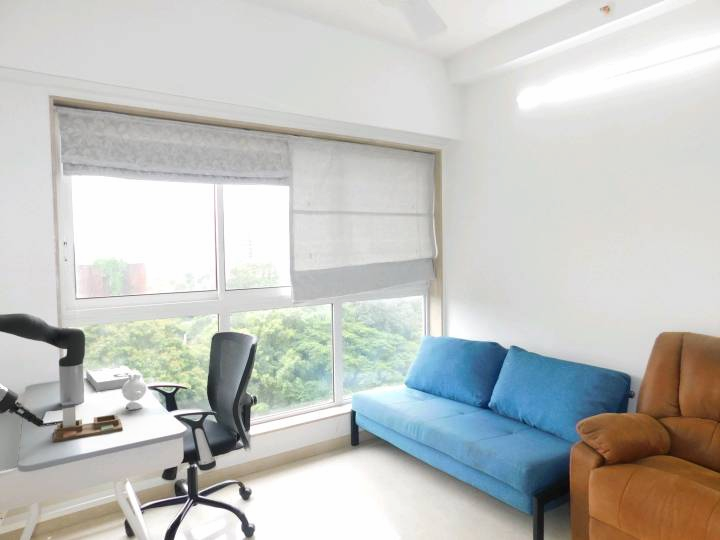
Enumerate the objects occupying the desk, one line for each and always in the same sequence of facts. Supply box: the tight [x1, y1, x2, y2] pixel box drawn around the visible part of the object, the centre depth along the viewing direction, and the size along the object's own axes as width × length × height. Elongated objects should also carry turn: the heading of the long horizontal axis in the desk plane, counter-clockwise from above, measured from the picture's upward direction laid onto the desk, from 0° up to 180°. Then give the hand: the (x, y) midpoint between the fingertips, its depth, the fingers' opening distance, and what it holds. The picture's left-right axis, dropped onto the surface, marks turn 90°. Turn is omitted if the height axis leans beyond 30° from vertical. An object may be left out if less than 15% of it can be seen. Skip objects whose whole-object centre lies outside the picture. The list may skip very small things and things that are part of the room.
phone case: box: [41, 409, 63, 426], centre depth 197 cm, size 9×2×16 cm
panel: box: [52, 413, 123, 443], centre depth 182 cm, size 12×22×3 cm, turn 121°
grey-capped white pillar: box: [61, 401, 77, 428], centre depth 181 cm, size 4×4×10 cm
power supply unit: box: [85, 364, 136, 392], centre depth 254 cm, size 19×33×5 cm, turn 37°
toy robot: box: [120, 373, 147, 411], centre depth 210 cm, size 15×10×15 cm, turn 40°
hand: (37, 421), depth 173 cm, fingers open, 8 cm apart
